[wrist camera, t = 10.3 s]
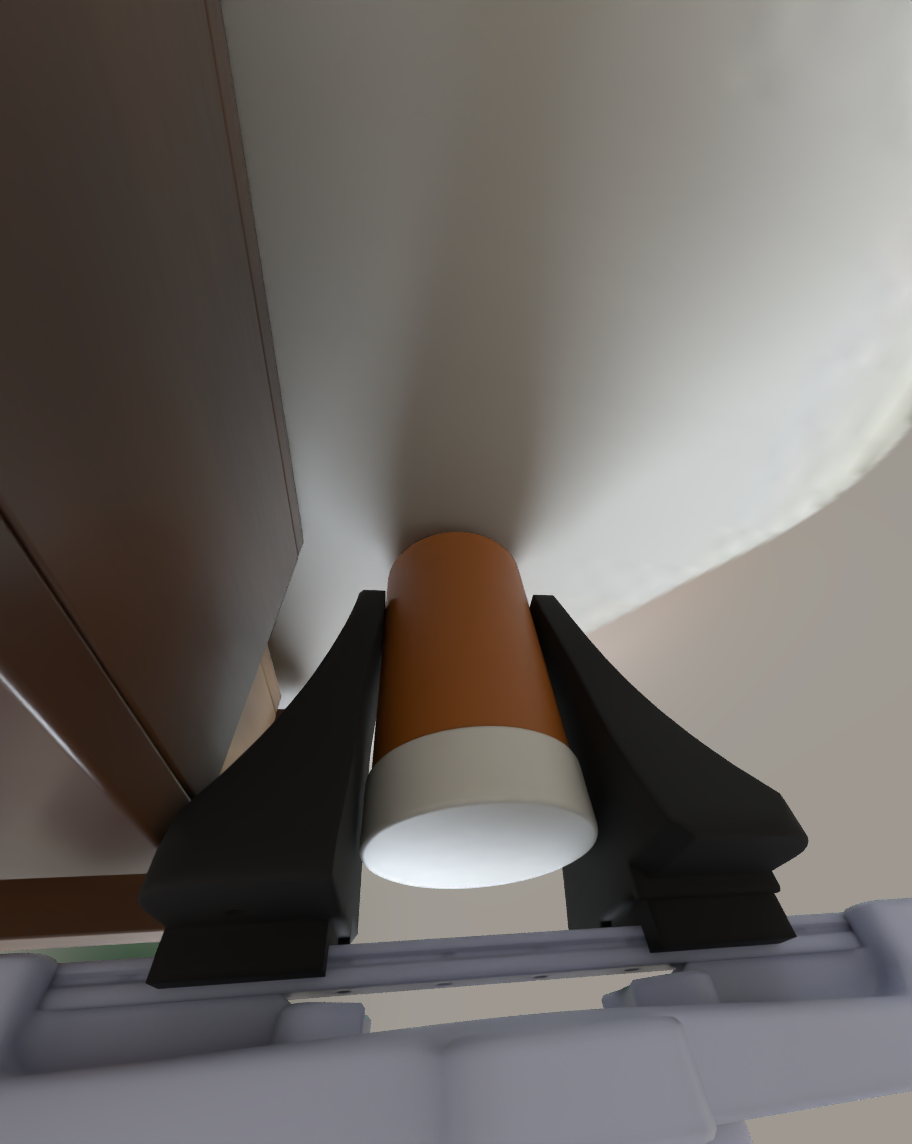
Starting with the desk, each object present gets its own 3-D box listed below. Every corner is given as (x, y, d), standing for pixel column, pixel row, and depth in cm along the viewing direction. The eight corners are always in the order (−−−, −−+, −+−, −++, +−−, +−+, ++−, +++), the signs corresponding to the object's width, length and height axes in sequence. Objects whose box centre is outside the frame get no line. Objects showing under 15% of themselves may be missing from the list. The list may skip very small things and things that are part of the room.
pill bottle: (385, 631, 15) (363, 895, 9) (384, 524, 12) (352, 805, 6) (509, 633, 15) (564, 884, 9) (535, 531, 12) (636, 797, 7)
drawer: (320, 772, 20) (286, 963, 15) (8, 777, 19) (-151, 992, 14) (244, 409, 10) (34, 633, 4) (-498, 353, 8) (-2211, 597, 3)
